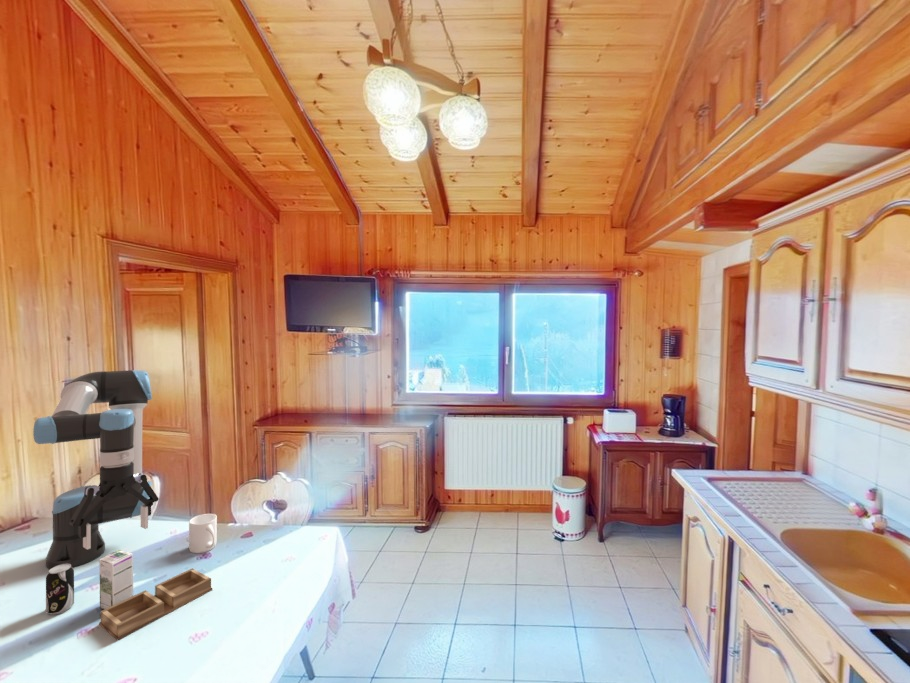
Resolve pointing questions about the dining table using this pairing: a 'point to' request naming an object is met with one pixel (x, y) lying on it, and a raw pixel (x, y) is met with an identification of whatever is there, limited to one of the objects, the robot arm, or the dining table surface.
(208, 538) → the mug
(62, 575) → the beverage can
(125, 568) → the syrup box
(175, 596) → the rack
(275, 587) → the dining table surface
